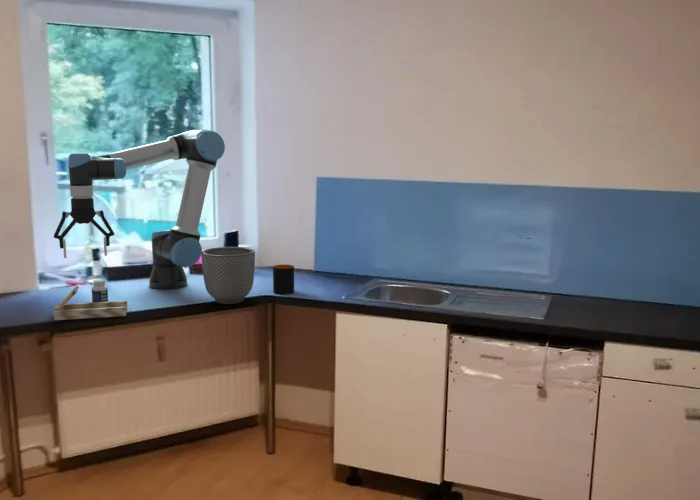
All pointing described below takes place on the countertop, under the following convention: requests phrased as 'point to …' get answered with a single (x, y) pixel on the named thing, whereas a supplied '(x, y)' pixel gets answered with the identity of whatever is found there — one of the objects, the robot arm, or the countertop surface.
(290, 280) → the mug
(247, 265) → the planter
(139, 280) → the countertop surface
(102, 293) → the pill bottle
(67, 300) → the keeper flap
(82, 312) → the wooden tray
